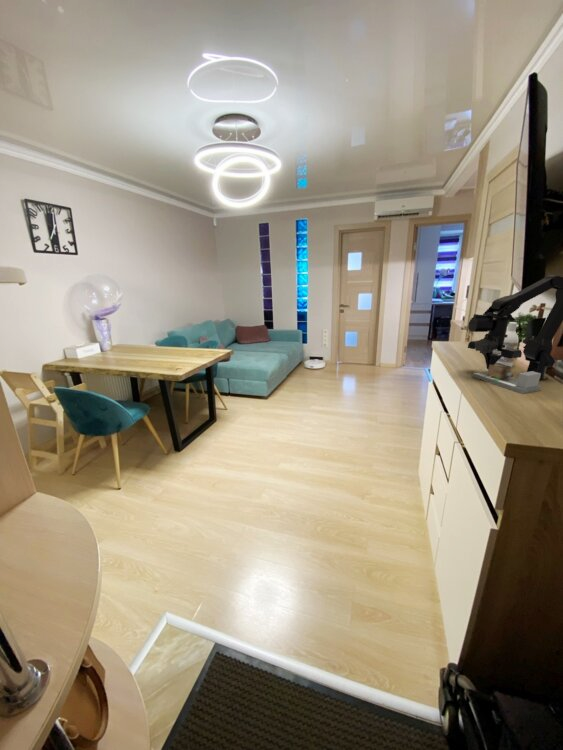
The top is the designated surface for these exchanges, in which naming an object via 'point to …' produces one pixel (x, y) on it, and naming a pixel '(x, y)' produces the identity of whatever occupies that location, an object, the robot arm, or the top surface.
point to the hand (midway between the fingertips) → (488, 369)
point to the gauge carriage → (499, 371)
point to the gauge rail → (514, 381)
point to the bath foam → (510, 343)
